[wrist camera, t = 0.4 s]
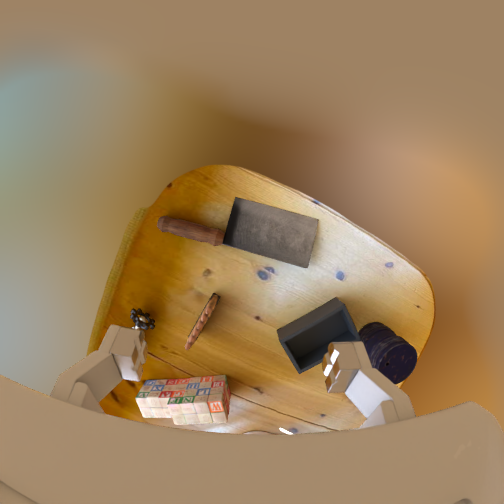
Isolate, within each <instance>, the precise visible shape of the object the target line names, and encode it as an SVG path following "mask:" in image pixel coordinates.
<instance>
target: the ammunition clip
mask: <svg viewBox="0 0 504 504" xmlns="http://www.w3.org/2000/svg"><path fill="white" fill-rule="evenodd" d="M219 299H220V296H219V295H217V294H215V293H213V294H212V296H211V298H210V299H209V301H208V303H207V305H206V306H205V308H204V310H203V312H202V313H201V315H200V317H199V319H198V320H197V322H196V324H195V326H194V327H193V329H192V331H191V333H190V335H189V336H188V339H187V343H186V345H185V349H186V350H188V349H190V348H191V346H192V345H193V344H194V342H195V341H196V340H197V338H198V336H199V334H200V333H201V331H202V329H203V328H204V326H205V324H206V322H207V321H208V319H209V317H210V316H211V314H212V312H213V310H214V309H215V307H216V305H217V304H218V301H219Z"/></svg>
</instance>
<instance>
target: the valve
mask: <svg viewBox="0 0 504 504" xmlns="http://www.w3.org/2000/svg"><path fill="white" fill-rule="evenodd" d="M131 313H132V314H131V316H130V318H131V319H133V321H134V322H135V325H136V326H134V327H133V328H134V329H139V328H142V329H145V330H148V329H149V327H150V326H151V328H150V329H152V330H153V329H154V327H155V325H154V323H155V320H154V319H150V318H149V316H150V315H149V314H148V313H145V314H144V313H143V312H142V310H141V309H138V310H137V311H136V309H132V310H131ZM137 315H141V316H140V317H139V318H138V316H137ZM135 319H136V320H135ZM146 319H147V320H148V322H149V323H145V322H146Z"/></svg>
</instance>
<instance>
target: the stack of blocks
mask: <svg viewBox="0 0 504 504" xmlns="http://www.w3.org/2000/svg"><path fill="white" fill-rule="evenodd" d="M230 396H231V394H230V390H229V386H228V382H227V378H226V375H218V376H204V377H192V378H183V379H169V380H168V379H163V380H147V381H146V382H145V384H144V385H143V387H142V388H141V390H140V391H139V393H138V395H137V396H136V401H137V403H138V406H139V408H140V410H141V413H142V415H143V417H144V418H172V419H173V421H174V424H175V425H186V424H207V423H224V422H227V420H228V414H229V404H230Z"/></svg>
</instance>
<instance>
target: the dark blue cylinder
mask: <svg viewBox="0 0 504 504" xmlns="http://www.w3.org/2000/svg"><path fill="white" fill-rule="evenodd" d="M358 334H359V336H360V338H361V340H359V341H362V342H363V344H364V346H365V349H366V352H367V354H368V357H369V360H370V363H371V365H372V368H376V369H377V370H378V371H379V372H380V373H382V374H383V375H384V376H385V377H386V378H388V379H389V380H390V381H391V382H392V383H393V384H398V383H400V382H402V381H404V380H405V379H406V378H407V377H408V376H409V375H410V374H411V373H412V371H413V370H414V368H415V366H416V363H417V352H416V350H415V348H414V347H413V346H411V345H410V344H409V343H408V342H407V341H406V340H404V339H403V338H402V337H400V336H397V335H396V334H395V333H394V332H393V331H392V330H391V329H390V328H388V327H387V326H385V325H384V324H382V323H379V322H372V323H369V324H367V325H365V326H364V327H363V328H362V329H361V330H360V331H359V332H358ZM359 341H358V342H359Z"/></svg>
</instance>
